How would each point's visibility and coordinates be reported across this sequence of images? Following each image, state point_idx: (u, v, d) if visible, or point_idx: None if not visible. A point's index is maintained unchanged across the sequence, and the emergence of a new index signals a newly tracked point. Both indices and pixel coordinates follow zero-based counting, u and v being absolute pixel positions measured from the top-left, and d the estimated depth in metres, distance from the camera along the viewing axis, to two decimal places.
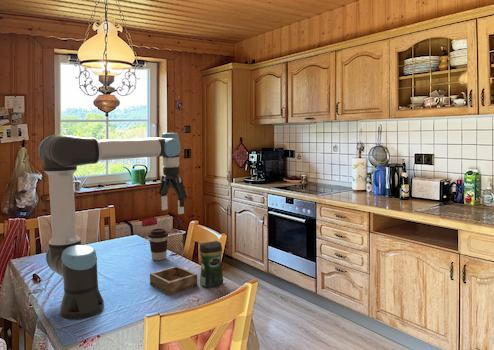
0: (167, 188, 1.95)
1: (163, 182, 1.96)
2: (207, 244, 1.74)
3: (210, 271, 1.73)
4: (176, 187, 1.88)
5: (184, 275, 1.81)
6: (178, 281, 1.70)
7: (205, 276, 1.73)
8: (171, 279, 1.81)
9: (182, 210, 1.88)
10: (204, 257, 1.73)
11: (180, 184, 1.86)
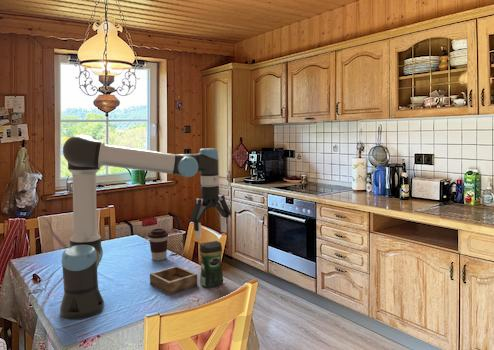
0: (218, 209, 1.76)
1: (221, 202, 1.78)
2: (207, 244, 1.74)
3: (210, 271, 1.73)
4: (201, 208, 1.71)
5: (184, 275, 1.81)
6: (178, 281, 1.70)
7: (205, 276, 1.73)
8: (171, 279, 1.81)
9: (198, 235, 1.69)
10: (204, 257, 1.73)
11: (196, 206, 1.68)
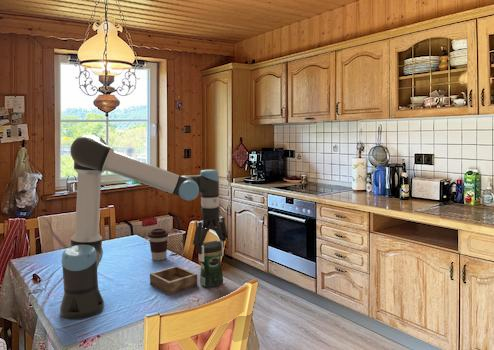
0: (217, 231, 1.77)
1: (220, 224, 1.79)
2: (206, 244, 1.74)
3: (210, 271, 1.73)
4: (202, 231, 1.72)
5: (184, 275, 1.81)
6: (178, 281, 1.70)
7: (205, 276, 1.73)
8: (171, 279, 1.81)
9: (201, 258, 1.72)
10: (204, 257, 1.73)
11: (197, 229, 1.70)
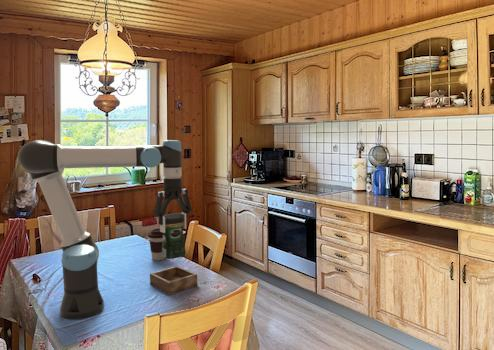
0: (180, 203, 1.75)
1: (183, 196, 1.77)
2: (168, 215, 1.72)
3: (171, 242, 1.71)
4: (164, 201, 1.71)
5: (184, 275, 1.81)
6: (178, 281, 1.70)
7: (166, 247, 1.71)
8: (171, 279, 1.81)
9: (162, 229, 1.70)
10: (165, 228, 1.71)
11: (158, 199, 1.68)
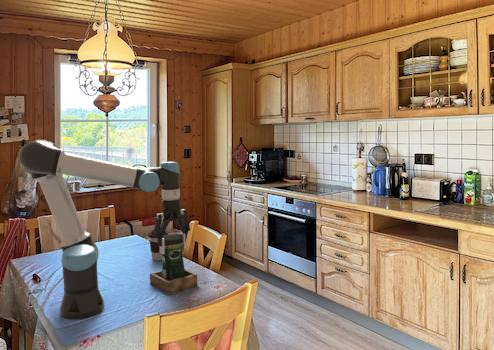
0: (178, 223, 1.76)
1: (182, 216, 1.78)
2: (167, 236, 1.73)
3: (171, 263, 1.72)
4: (163, 223, 1.72)
5: (184, 275, 1.81)
6: (178, 281, 1.70)
7: (166, 268, 1.73)
8: (171, 279, 1.81)
9: (162, 250, 1.71)
10: None
11: (157, 221, 1.69)
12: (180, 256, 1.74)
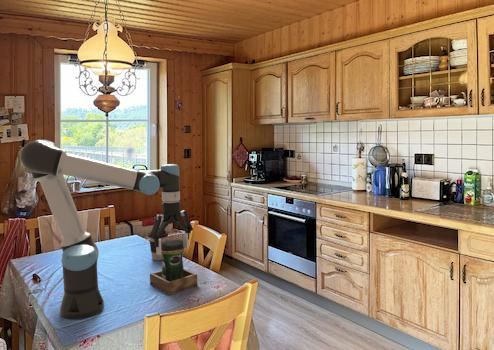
0: (180, 225, 1.77)
1: (183, 217, 1.78)
2: (168, 242, 1.73)
3: (171, 269, 1.73)
4: (162, 224, 1.71)
5: (184, 275, 1.81)
6: (178, 281, 1.70)
7: (166, 274, 1.73)
8: None
9: (158, 251, 1.70)
10: (164, 255, 1.72)
11: (156, 222, 1.69)
12: (180, 262, 1.75)
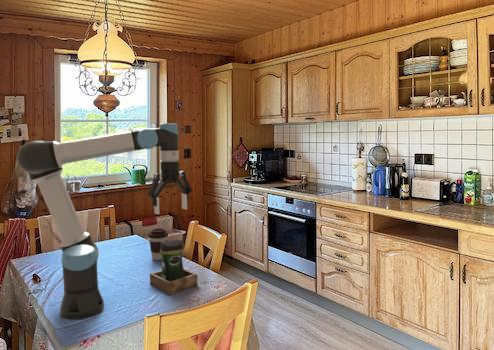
0: (179, 185, 1.75)
1: (181, 178, 1.76)
2: (167, 242, 1.73)
3: (171, 269, 1.73)
4: (160, 184, 1.69)
5: (184, 275, 1.81)
6: (178, 281, 1.70)
7: (166, 274, 1.73)
8: None
9: (156, 210, 1.68)
10: (164, 255, 1.72)
11: (154, 180, 1.67)
12: (180, 262, 1.75)
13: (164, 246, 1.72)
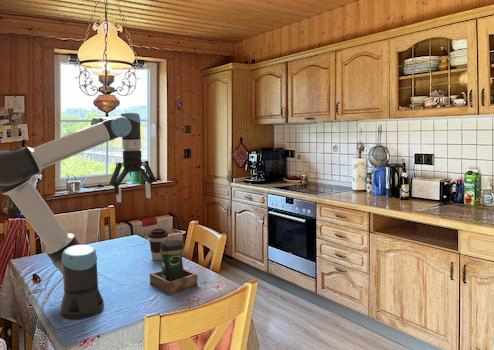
0: (142, 174, 1.77)
1: (145, 167, 1.78)
2: (167, 242, 1.73)
3: (171, 269, 1.73)
4: (122, 172, 1.71)
5: (184, 275, 1.81)
6: (178, 281, 1.70)
7: (166, 274, 1.73)
8: None
9: (118, 198, 1.70)
10: (164, 255, 1.72)
11: (116, 169, 1.69)
12: (180, 262, 1.75)
13: (164, 246, 1.72)
